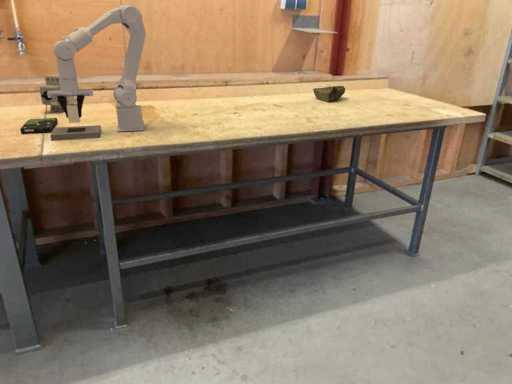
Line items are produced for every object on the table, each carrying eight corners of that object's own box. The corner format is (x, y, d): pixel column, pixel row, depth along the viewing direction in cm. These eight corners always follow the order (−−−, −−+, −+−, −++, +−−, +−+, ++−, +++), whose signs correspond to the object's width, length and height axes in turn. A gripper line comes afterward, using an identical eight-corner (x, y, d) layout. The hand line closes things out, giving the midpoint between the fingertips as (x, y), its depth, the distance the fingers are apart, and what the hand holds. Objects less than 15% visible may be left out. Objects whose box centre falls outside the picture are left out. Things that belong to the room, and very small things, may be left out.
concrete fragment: (307, 94, 220) (325, 75, 224) (318, 109, 225) (334, 91, 229) (325, 92, 208) (343, 72, 212) (335, 108, 212) (353, 89, 216)
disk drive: (52, 134, 154) (58, 124, 167) (50, 127, 153) (57, 117, 166) (21, 136, 151) (29, 125, 164) (19, 128, 150) (28, 118, 163)
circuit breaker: (41, 113, 180) (34, 78, 174) (62, 107, 192) (57, 73, 186) (56, 115, 178) (50, 79, 172) (77, 108, 191) (71, 74, 185)
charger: (80, 120, 151) (77, 103, 149) (79, 122, 148) (76, 105, 146) (70, 120, 150) (67, 103, 148) (69, 122, 147) (66, 105, 145)
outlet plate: (101, 130, 158) (100, 125, 157) (99, 137, 149) (99, 132, 148) (55, 132, 154) (54, 127, 153) (51, 140, 145) (50, 135, 144)
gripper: (43, 80, 138) (50, 120, 143) (89, 79, 142) (95, 118, 147) (46, 77, 144) (53, 116, 149) (91, 76, 148) (96, 114, 153)
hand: (74, 117), depth 149 cm, fingers closed on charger, 3 cm apart
